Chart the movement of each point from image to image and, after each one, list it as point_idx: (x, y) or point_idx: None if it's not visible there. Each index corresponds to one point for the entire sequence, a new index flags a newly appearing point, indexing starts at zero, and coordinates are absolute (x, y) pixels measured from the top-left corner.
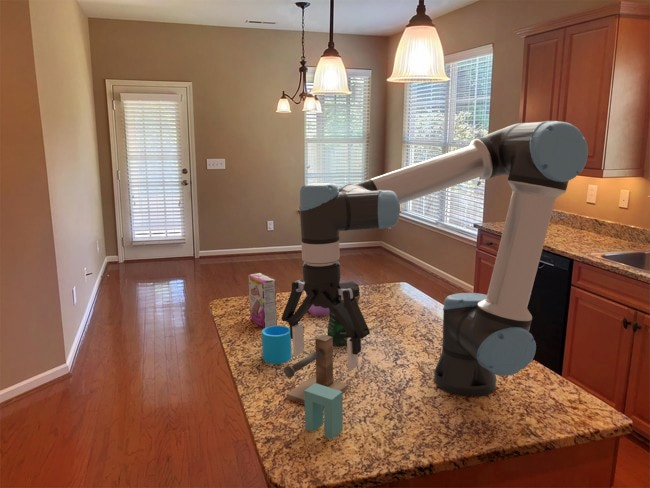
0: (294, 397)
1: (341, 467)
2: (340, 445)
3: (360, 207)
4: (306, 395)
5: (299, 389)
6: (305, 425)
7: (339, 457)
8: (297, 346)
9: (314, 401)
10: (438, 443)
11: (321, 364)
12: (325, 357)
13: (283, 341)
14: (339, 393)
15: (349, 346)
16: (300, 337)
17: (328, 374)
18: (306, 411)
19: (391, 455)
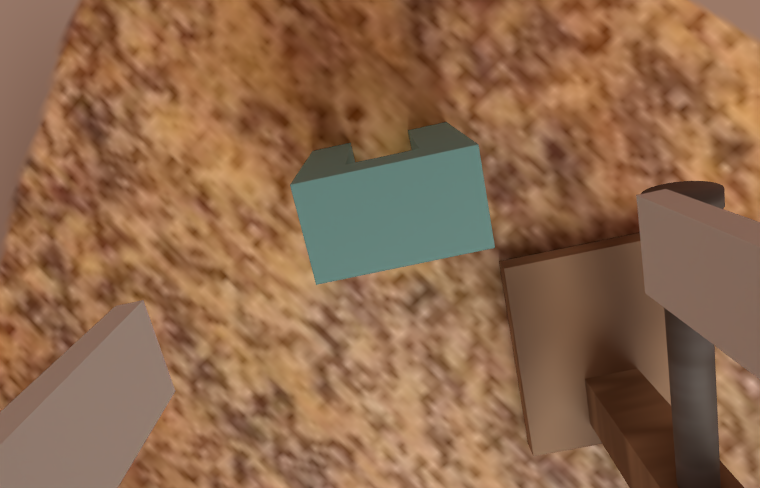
0: None
1: (152, 46)
2: (261, 146)
3: None
4: (460, 144)
5: None
6: (446, 124)
7: (205, 87)
8: (679, 234)
9: (405, 153)
10: None
11: (658, 438)
12: (654, 474)
13: None
14: (313, 260)
15: (6, 415)
16: (726, 310)
17: (608, 427)
18: (449, 133)
19: (91, 236)
